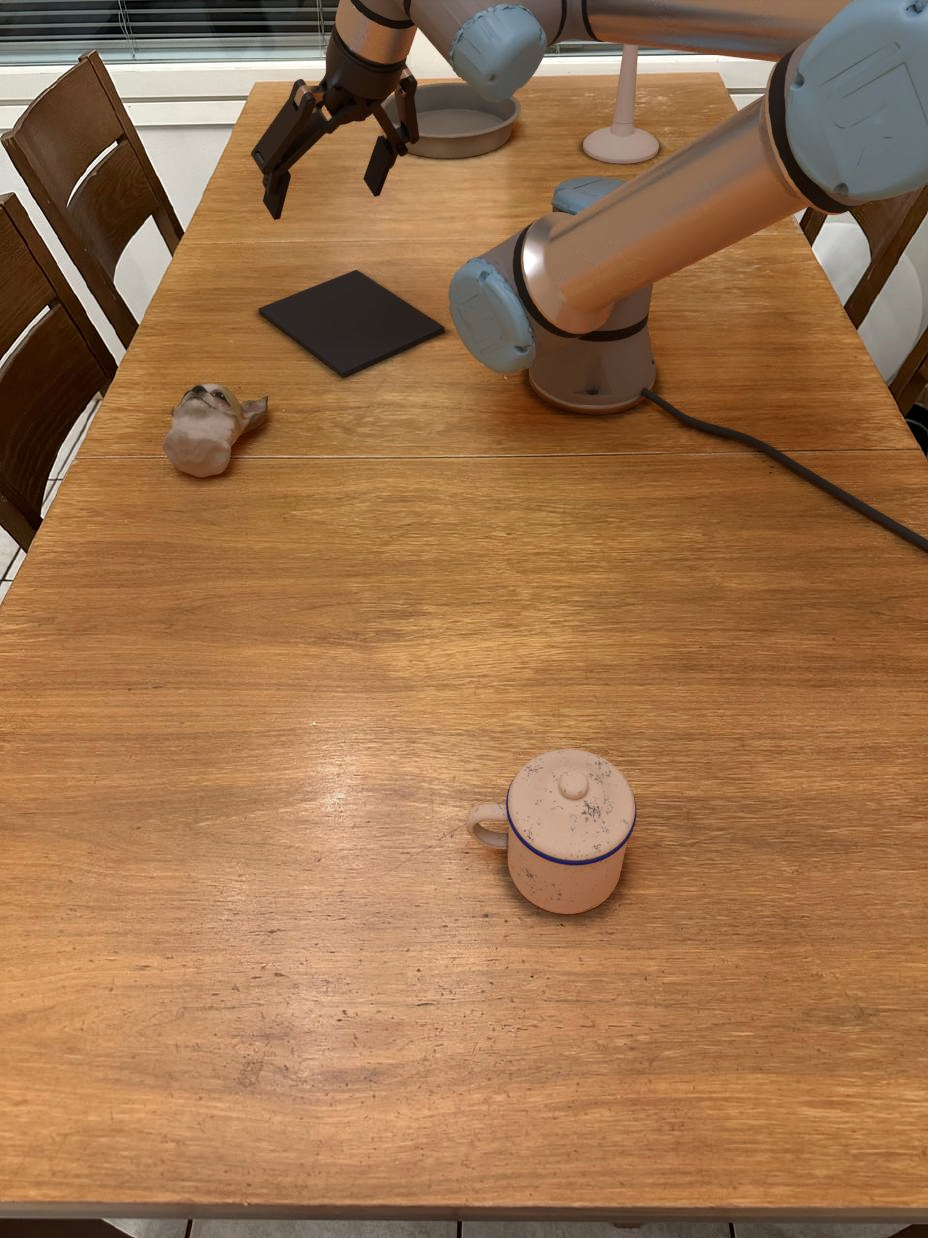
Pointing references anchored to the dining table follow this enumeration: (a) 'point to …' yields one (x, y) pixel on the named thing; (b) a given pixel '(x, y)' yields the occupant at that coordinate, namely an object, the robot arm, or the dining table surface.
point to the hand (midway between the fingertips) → (322, 198)
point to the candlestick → (623, 122)
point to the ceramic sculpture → (209, 428)
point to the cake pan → (457, 121)
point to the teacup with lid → (562, 829)
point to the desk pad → (351, 322)
